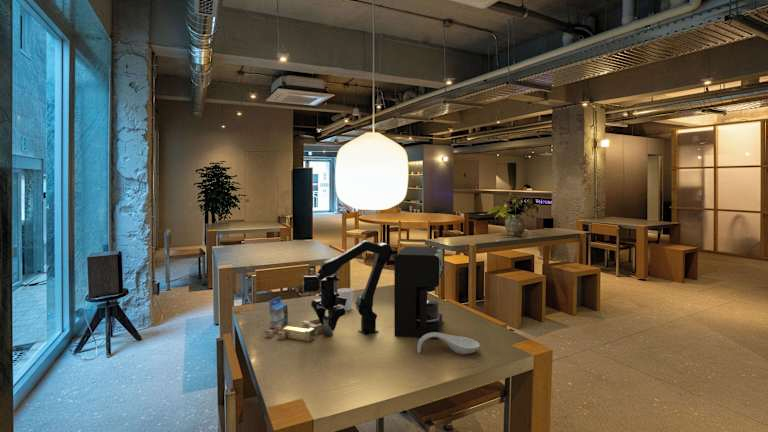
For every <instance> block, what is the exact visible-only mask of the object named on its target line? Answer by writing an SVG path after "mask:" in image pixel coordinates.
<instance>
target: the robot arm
mask: <svg viewBox="0 0 768 432" xmlns="http://www.w3.org/2000/svg"><path fill="white" fill-rule="evenodd" d="M365 252H371V253H373V254H374V262H373V265H372V267H371V271H370V274H369V277H368V278H367V282H366V286H365V288H364V291H363V293H362V294H361V295H360V294H358V296H357V298H356V301H355V302H354V303H355V308H356V310H357V312H358V314H359V315H360V316H361V317H360V318H361V319H360V327H361V328H359V329H358V332H360V333H362V334H364V335H366V336H367V335H368V336H369V335H372V334H375V333H379V329H376V325H377V323H376V321H377V319H378V318H377V317H378V314H376V312H375V310H374V309H373V306H374V295H375V293H376V289H377V287H378V284H379V281H380V278H381V276H382V275H381V274H382V272H383V270H384V267H385V265H386V263H387V262H388V261H389V260H390V257H391V255H392V254H393V253H392V252H393V249H392V247H391V246H390V245H389V244H387V243H385V242H380V243H377V242H374V241H368V240H365V239H364V240H362V241H360V242H359V243H357V244H356V245H354V246H352V247H350V248H349V249H348V250H346V251H344V252H343V253H341V254H340V255H337V256H335V257H331V258H328V259H326V260H323V261H322V262H320V266H319V270H318V271H317V272H316V274H315V275H303V279H302V281H303V282H302V293H304V294H305V293H317V292H318V291H319V290H320V292H319V293H318V297H320V298H317V299H316V298H315V299H312V301H311V305H310V306H311V307H312V309H313V311H314V313H315V314H316V316H317V318H319V320H320V322H321V324H322V325H323V316H326V311H327V315H328V319H329V323H330V326H331V329H332V331H333V332H334V331H335V330H336V326H337V323H338V320H339V319H340V318H341V317H343V316H345V315H346V311H345V309H344V308H342V307H340V306H339V305H343V306H345V304H346V301H347V299H346V298H344V297H341V296H340V295H339V294H338V292H335V290H336V289H335V284H336V283H335V282H336V281H337V282H338V281H340V278H339V276H337V275H336V274H335V273H337V272H338V271H339V270H340V269H341V268H342V267H343V266H344V265H345V264H347V263H348V262H351V261H352V260H353V259H355V258H357V257H359V256H360V255H362V254H364V253H365Z"/></svg>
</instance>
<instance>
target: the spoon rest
mask: <svg viewBox="0 0 768 432" xmlns="http://www.w3.org/2000/svg"><path fill="white" fill-rule="evenodd" d="M432 337H437V338H439V339H440V340H441V341H443V342H444V343H445V344H446V346H448V347H449V348H450V349H451V350H452V351H453V352H454V353H456V354H458V355H470V354H473V353H474V352H476V351H477V350H478V349H479V348H480V342H478V341H477V340H476V339H473V338H470V337H465V336H460V335H452V334H448V333H443V332H440V333H438V332H431V333H427V334H425V335H423V336H422V337H421V338H418V341H417V344H416V350H417V353H418V354H420V353H421V352H422V345H423V343H424V342H425V341H426V340H429V338H432Z"/></svg>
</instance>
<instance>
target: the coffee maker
mask: <svg viewBox="0 0 768 432" xmlns="http://www.w3.org/2000/svg"><path fill="white" fill-rule="evenodd" d="M443 255H444V252H443V248H441V247H438V246H437V247H436V246H404V247H403V248H402V249H401V250H400V251H399V252H397V254H395V255H394V256H393V259H394V263H393V264H394V274H393V275H394V282H393V283H394V286H393V287H394V291H393V292H394V293H393V295H394V303H393V304H394V314H393V315H394V323H393V324H394V326H393V327H394V331H393V332H394V334H393V335H394V337H399V338H400V337H402V338H415V339H420V338H421V337H422V336H423V335H425V334H427V333H431V332H438V333H441V330H442V329H441V328H442V324H443V314H442V313H440V304H439V303H440V302H439V301H438V300H436V299H431V298H428V293H430V292H431V293H432V292H435V291H436V290H437V289H436V288H438V287H439V286H440V283H441V279H442V276H443V273H444V272H443V271H444V269H445V266H443V264H444V262H443V259H444V257H443ZM429 339H430V340H439V339H440V338H437V337H432V338H429ZM429 339H428V340H429Z"/></svg>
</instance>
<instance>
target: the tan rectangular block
mask: <svg viewBox="0 0 768 432" xmlns="http://www.w3.org/2000/svg"><path fill="white" fill-rule="evenodd" d="M282 332H286V339H295V340H299V341H306V342H311V341H312V340H314V339H315V337H316V336H315V328H309V329H304V328H302V327H296V326H295V327H294V326H290V325H287V326H285V327H282Z"/></svg>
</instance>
